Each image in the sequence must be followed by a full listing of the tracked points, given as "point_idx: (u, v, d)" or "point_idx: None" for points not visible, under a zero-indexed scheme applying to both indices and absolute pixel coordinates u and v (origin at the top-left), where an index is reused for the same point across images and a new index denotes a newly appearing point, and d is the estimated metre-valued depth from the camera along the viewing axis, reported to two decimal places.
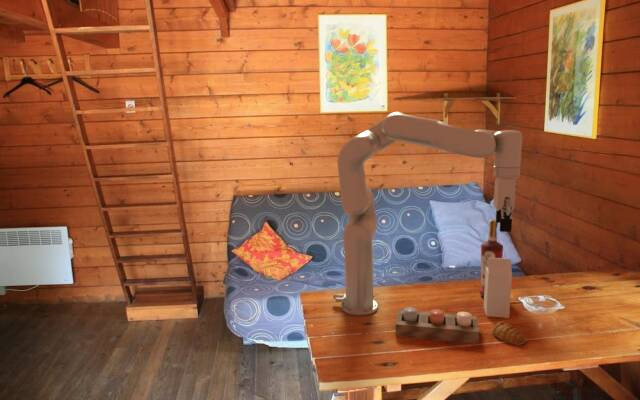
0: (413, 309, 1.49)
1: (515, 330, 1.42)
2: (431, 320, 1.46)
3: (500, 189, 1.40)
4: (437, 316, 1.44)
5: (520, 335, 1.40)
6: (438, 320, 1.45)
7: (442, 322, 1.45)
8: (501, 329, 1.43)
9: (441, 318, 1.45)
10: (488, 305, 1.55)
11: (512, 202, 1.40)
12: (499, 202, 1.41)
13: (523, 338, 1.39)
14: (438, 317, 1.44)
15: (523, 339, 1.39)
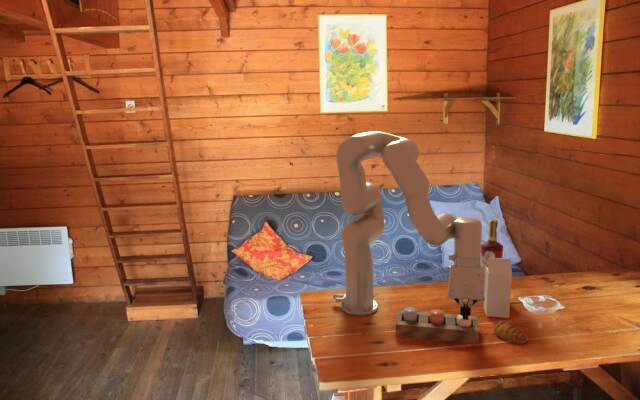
0: (413, 309, 1.49)
1: (516, 329, 1.42)
2: (431, 320, 1.46)
3: (483, 277, 1.38)
4: (437, 316, 1.44)
5: (522, 334, 1.40)
6: (438, 320, 1.45)
7: (442, 322, 1.45)
8: (503, 328, 1.43)
9: (441, 318, 1.45)
10: (488, 305, 1.55)
11: None
12: (484, 290, 1.39)
13: (525, 337, 1.40)
14: (438, 317, 1.44)
15: (525, 338, 1.40)
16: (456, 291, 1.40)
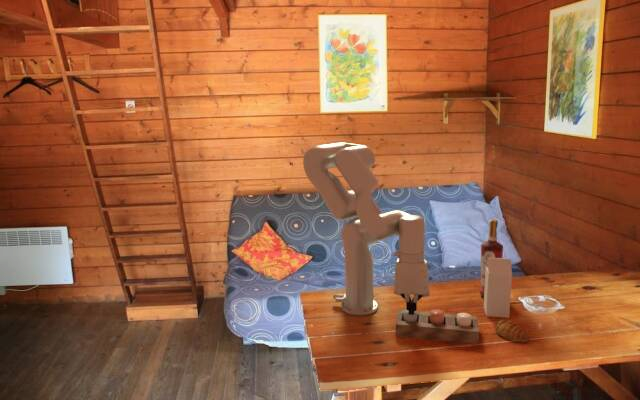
0: None
1: (518, 327, 1.43)
2: (431, 320, 1.46)
3: (427, 273, 1.42)
4: (437, 316, 1.44)
5: (523, 332, 1.41)
6: (438, 320, 1.45)
7: (442, 322, 1.45)
8: (504, 327, 1.44)
9: (441, 318, 1.45)
10: (488, 305, 1.55)
11: None
12: (428, 285, 1.43)
13: (526, 335, 1.41)
14: (438, 317, 1.44)
15: (526, 336, 1.41)
16: (401, 286, 1.44)
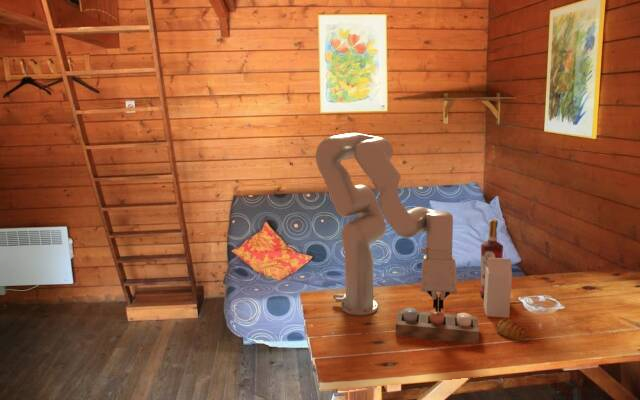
0: (413, 310, 1.49)
1: (519, 326, 1.44)
2: (431, 320, 1.46)
3: (455, 270, 1.40)
4: (437, 316, 1.44)
5: (524, 331, 1.42)
6: (438, 320, 1.45)
7: (442, 322, 1.45)
8: (506, 326, 1.44)
9: (441, 318, 1.45)
10: (488, 305, 1.55)
11: None
12: None
13: (528, 333, 1.41)
14: (438, 317, 1.44)
15: (528, 334, 1.41)
16: (428, 284, 1.42)
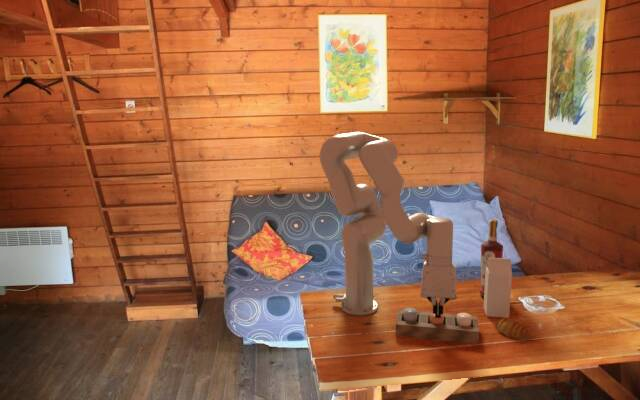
0: (413, 310, 1.49)
1: (520, 325, 1.44)
2: (431, 323, 1.46)
3: (455, 276, 1.40)
4: (437, 319, 1.45)
5: (525, 330, 1.43)
6: (438, 323, 1.45)
7: None
8: (506, 325, 1.45)
9: (441, 321, 1.45)
10: (488, 305, 1.55)
11: None
12: (455, 288, 1.41)
13: (529, 332, 1.42)
14: (438, 320, 1.45)
15: (529, 333, 1.42)
16: (428, 290, 1.42)
